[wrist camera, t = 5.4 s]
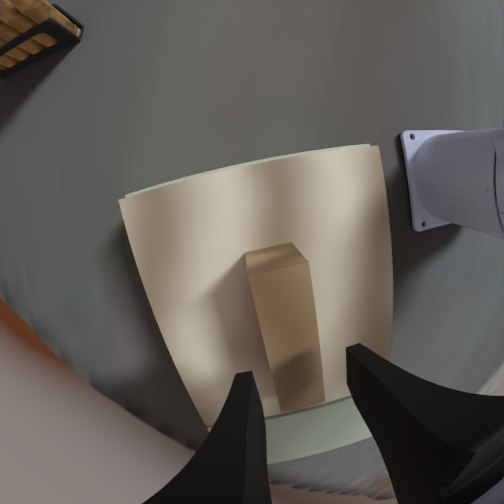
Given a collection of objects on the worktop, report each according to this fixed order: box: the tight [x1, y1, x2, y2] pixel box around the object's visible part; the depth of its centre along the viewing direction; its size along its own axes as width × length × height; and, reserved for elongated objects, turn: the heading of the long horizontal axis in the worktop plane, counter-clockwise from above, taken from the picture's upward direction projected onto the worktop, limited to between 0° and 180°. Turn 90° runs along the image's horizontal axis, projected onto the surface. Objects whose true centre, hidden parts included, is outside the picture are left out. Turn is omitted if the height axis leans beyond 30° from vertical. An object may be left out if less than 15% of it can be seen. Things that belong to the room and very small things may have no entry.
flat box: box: [125, 144, 372, 464], centre depth 18 cm, size 14×24×5 cm, turn 12°
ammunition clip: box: [0, 0, 84, 79], centre depth 7 cm, size 11×2×12 cm, turn 91°
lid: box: [119, 146, 393, 425], centre depth 14 cm, size 14×16×4 cm
